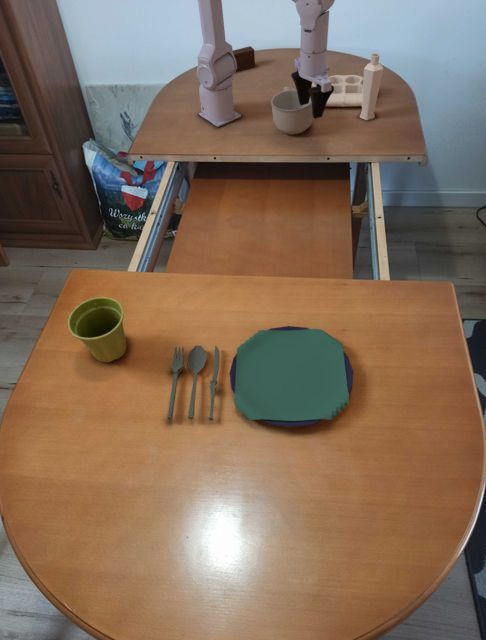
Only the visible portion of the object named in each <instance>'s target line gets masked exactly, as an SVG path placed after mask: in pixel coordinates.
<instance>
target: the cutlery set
mask: <svg viewBox="0 0 486 640" xmlns="http://www.w3.org/2000/svg"><path fill="white" fill-rule="evenodd" d="M184 349H185V348H184V346H182V347H181V346H178V347H177V346H175V347H174V353H173V357H172V361H171V365H170V371H171V372H172V374H173V375H172V382H171V383H172V384H171V389H170V397H169V403H168V409H167V415H166V419H167V420H169V421H170V420H171V421H172V420H173V413H174V405H175V399H176V393H177V384H178V376H180V373H181V372H182V371H184V368H183V367H184V366H183V365H184V351H185V350H184ZM186 361H187V367H188V368H189V369H190V371H191V373H193V381H192V386H191V392H190V393H191V394H190V400H189V406H188V407H189V409H188V415H187V419H189V420H193V419H194V416H195V403H196V390H197V389H196V388H197V378H198V374H199V372H201V371H202V370H203V369H204V368H205V365H206V362H207V351H206V349H205V348H204V347H203V346H202V345H194V347H193V348H192V349H191V350H190V351H189V353H188V356H187V360H186ZM219 366H220V349H219V347H218V346H217V345H214V355H213V367H212V379H211V380H209V383H210V386H209V388H210V409H209V417H208V421H214V403H215V395H216V392H217V385H218V380H217V378H218V374H219V368H220V367H219ZM353 379H354V371H353V368H352V364H351V361H350V359H349V356H348V354H347V353H346V352H345V351H344V345H343V343H342V342H341V341H340V340H338V339H336V338H335V337H334V336H332V335H331V334H329V333H328V332H327V331H325V330H323V329H320V328H309V327H304V326H295V325H293V326H292V325H285V326H278V327H271V328H269V329H261V330H258V331H256V333H253V335H252V336H250V337H249V338H248V339H247V340H245V341H244V342H243V343H241V344H240V345H239V346H237V348H236V354H235V355H234V356H233V358H232V362H231V366H230V370H229V380H230V386H231V391H232V393H233V394H234V405H235V408H236V409H237V411H239V412H240V413H241V414H243V415H244V417H246V418H247V419H248V420H249V421H255V420H256V421H257V420H260V421H261V422H265V423H266V424H268V425H271V426H275V427H283V428H290V429H295V428H296V429H297V428H302V427H309V426H314V425H316V424H319V423H321V422H322V421H325V420H329V421H332V420H334V419H335V418H336V416H338V415H339V414H340V412H342V411H343V410H344V409H346V408H347V407H348V406H349V401H350V394H351V392H352V389H353V381H354V380H353Z"/></svg>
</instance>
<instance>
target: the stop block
mask: <svg viewBox="0 0 486 640" xmlns="http://www.w3.org/2000/svg"><path fill="white" fill-rule="evenodd" d="M232 50H233V55H234V57H235V59H236V63H237V69H236V72H240V71H244V70H249V69H253V68H255V67H256V59H255V57H256V56H255V49H254V48H253V47H252V46H251V45H249V46H245V47H241V48H237V49H232ZM236 72H235V73H236Z"/></svg>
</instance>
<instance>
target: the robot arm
mask: <svg viewBox="0 0 486 640" xmlns="http://www.w3.org/2000/svg"><path fill="white" fill-rule="evenodd" d="M291 1H292V2H293V3H294V4H295V9H296V12H297V14H298V16H299V19H300V21H299V22H300V23H299V25H300V49H299V51H300V52H299V57H296V58H294V68H295V69H296V71H294V72H291V74H290V77H291V79H292V81H293V83H294V86H295V89H297V94H298V99H299V103H300V105H305V104H308V103H309V99H310V97H311V102H312V114H313V120H314V119H315V120H316V119H320V118H322V117H323V115H324V113H325V109H326V107H327V106H326V103H327V101H328V99H329V97H330V95H331V94H332V92H333V91H334V87H333V86H332V81H331V80H330V79H329V77H330V76H329V73H328V72H329V71H331V66H330V65H329V64H327V56H328V55H327V53H328V52H327V51H328V41H329V40H328V39H329V25H330V24H329V22H330V9H331V8H332V6H333V5H334V3H335V1H336V0H291ZM197 3H198V11H199V12H198V13H199V19H200V27H201V28H200V29H201V35H202V47H201V49H200V50H199V52H198V55H197V66H196V77H197V80H198V82H199V83H200V85H199V90H198V93H199V102H200V110H201V112H200V111H199V113H198V115H199V116H200V117H202V118H203V119H204V120H206V121H208V122H209V123H211V124H212V125H214V126H216V128H217V127H218V128H220V127H222V126H224V125H226V124H228V123H230V122H232V121H235V120H237V119H240V118H241V117H242V114H240V113H239V112H237V111H236V110H235V104H234V103H235V102H234V93H233V81H234V75H235V73H236V69H237V63H236V59H235V57H234V55H233V50H234V49H233V46H232V44H230V43H229V42H227V40H226V31H225V21H224V14H223V13H224V11H223V1H222V0H197ZM312 82H314V83H316V87H312V88H311V86H312Z"/></svg>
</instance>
